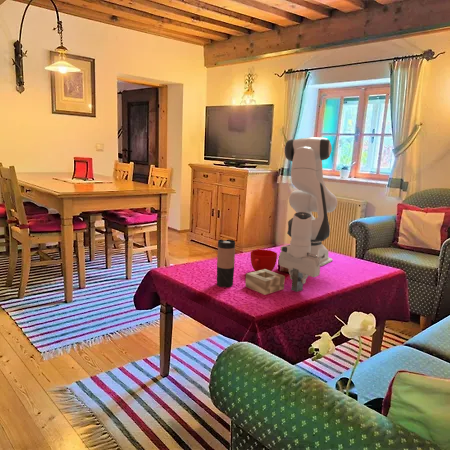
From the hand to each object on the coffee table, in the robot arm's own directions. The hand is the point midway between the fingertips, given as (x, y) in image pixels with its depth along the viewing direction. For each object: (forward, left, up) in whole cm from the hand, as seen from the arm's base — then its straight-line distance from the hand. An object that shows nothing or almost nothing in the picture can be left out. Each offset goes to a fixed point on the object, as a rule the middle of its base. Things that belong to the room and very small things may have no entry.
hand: (297, 281), depth 175 cm
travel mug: (+22, -23, -4) cm, 32 cm away
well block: (+10, -10, -4) cm, 15 cm away
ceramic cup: (-3, -25, -4) cm, 26 cm away
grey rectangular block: (0, 0, -4) cm, 4 cm away
